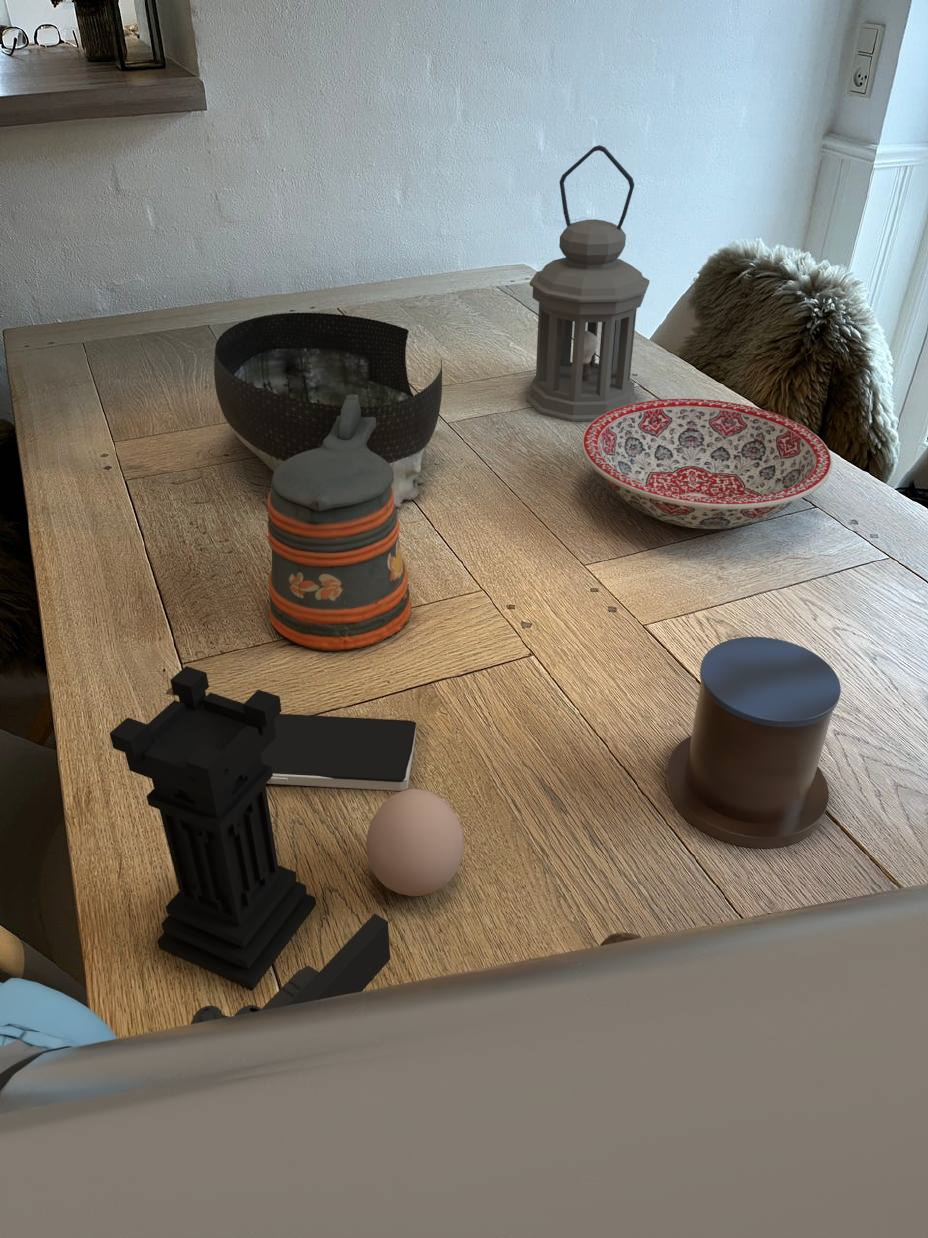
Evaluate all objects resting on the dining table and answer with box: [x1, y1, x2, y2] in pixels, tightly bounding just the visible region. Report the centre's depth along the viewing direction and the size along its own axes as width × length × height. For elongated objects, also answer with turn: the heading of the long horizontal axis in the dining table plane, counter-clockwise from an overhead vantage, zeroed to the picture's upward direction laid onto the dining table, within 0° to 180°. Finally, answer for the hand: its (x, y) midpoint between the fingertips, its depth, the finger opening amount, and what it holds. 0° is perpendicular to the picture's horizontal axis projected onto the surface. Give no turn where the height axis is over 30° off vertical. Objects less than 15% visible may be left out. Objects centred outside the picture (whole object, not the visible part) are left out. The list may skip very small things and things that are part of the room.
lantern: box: [525, 144, 650, 423], centre depth 141 cm, size 17×17×35 cm
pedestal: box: [665, 636, 842, 849], centre depth 80 cm, size 13×13×12 cm
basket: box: [213, 312, 443, 509], centre depth 129 cm, size 28×35×16 cm
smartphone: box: [261, 713, 417, 792], centre depth 87 cm, size 8×1×15 cm
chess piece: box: [108, 665, 317, 991], centre depth 67 cm, size 8×8×20 cm
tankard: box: [267, 394, 412, 652], centre depth 101 cm, size 19×15×20 cm
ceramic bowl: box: [581, 398, 833, 530], centre depth 121 cm, size 29×29×8 cm
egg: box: [365, 788, 465, 897], centre depth 73 cm, size 7×7×8 cm
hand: (510, 1012), depth 42 cm, fingers open, 13 cm apart
